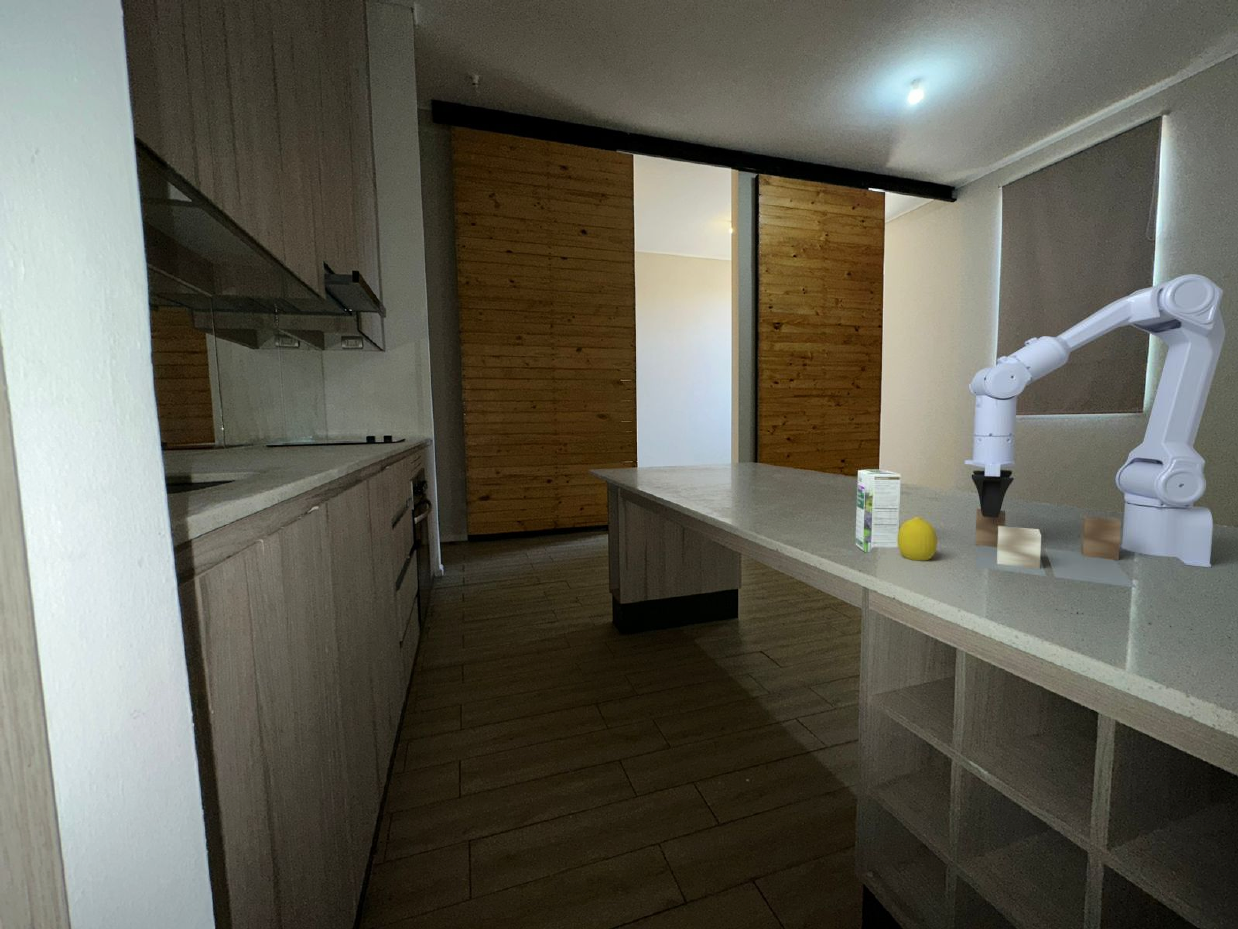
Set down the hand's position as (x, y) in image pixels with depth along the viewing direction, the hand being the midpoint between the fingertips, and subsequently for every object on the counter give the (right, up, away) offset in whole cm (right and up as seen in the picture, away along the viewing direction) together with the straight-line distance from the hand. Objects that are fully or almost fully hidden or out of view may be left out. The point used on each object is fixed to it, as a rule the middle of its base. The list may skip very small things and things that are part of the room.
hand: (990, 513), depth 87 cm
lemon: (-17, -8, -6) cm, 19 cm away
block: (-3, -7, -10) cm, 12 cm away
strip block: (-2, -7, -7) cm, 10 cm away
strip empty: (+5, -8, -12) cm, 15 cm away
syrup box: (-18, -7, +4) cm, 20 cm away
